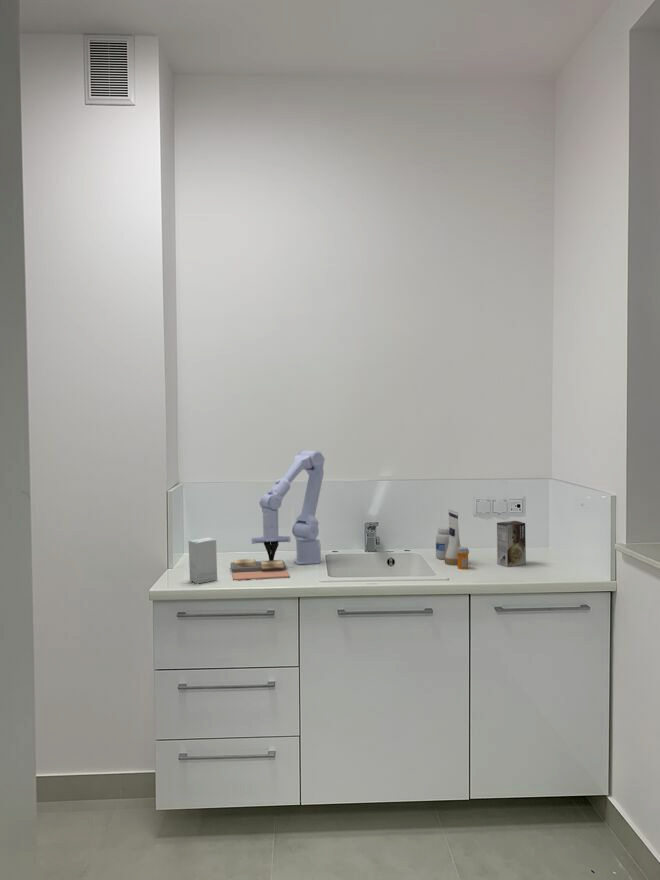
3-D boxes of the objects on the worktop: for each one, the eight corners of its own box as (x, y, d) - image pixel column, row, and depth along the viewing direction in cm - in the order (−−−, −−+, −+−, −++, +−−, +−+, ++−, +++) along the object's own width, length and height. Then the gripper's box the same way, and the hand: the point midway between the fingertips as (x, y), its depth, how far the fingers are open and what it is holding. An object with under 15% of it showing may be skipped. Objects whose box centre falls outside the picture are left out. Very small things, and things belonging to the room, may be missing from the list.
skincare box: (209, 577, 253) (208, 536, 252) (218, 580, 248) (217, 538, 247) (188, 581, 247) (187, 539, 247) (196, 584, 243) (196, 541, 242)
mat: (286, 571, 261) (286, 569, 261) (290, 577, 251) (289, 575, 251) (232, 574, 257) (232, 572, 257) (233, 580, 247) (233, 579, 247)
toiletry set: (433, 556, 284) (432, 506, 284) (450, 556, 286) (450, 505, 285) (455, 570, 260) (455, 515, 259) (474, 569, 261) (474, 514, 260)
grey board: (282, 565, 272) (282, 559, 272) (286, 571, 261) (286, 565, 261) (230, 567, 268) (230, 562, 268) (232, 574, 257) (232, 568, 257)
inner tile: (282, 564, 264) (282, 559, 264) (283, 567, 258) (283, 563, 258) (260, 565, 263) (260, 560, 263) (262, 568, 257) (262, 564, 257)
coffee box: (515, 561, 273) (515, 520, 273) (526, 564, 267) (526, 522, 267) (496, 564, 269) (496, 522, 269) (507, 567, 263) (507, 524, 263)
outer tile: (254, 563, 267) (254, 558, 267) (256, 566, 261) (256, 562, 261) (233, 564, 265) (233, 559, 265) (234, 567, 259) (234, 563, 259)
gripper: (252, 528, 259) (252, 564, 260) (291, 526, 262) (291, 562, 262) (250, 525, 266) (251, 560, 267) (288, 523, 269) (289, 559, 269)
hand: (271, 561), depth 265 cm, fingers closed
